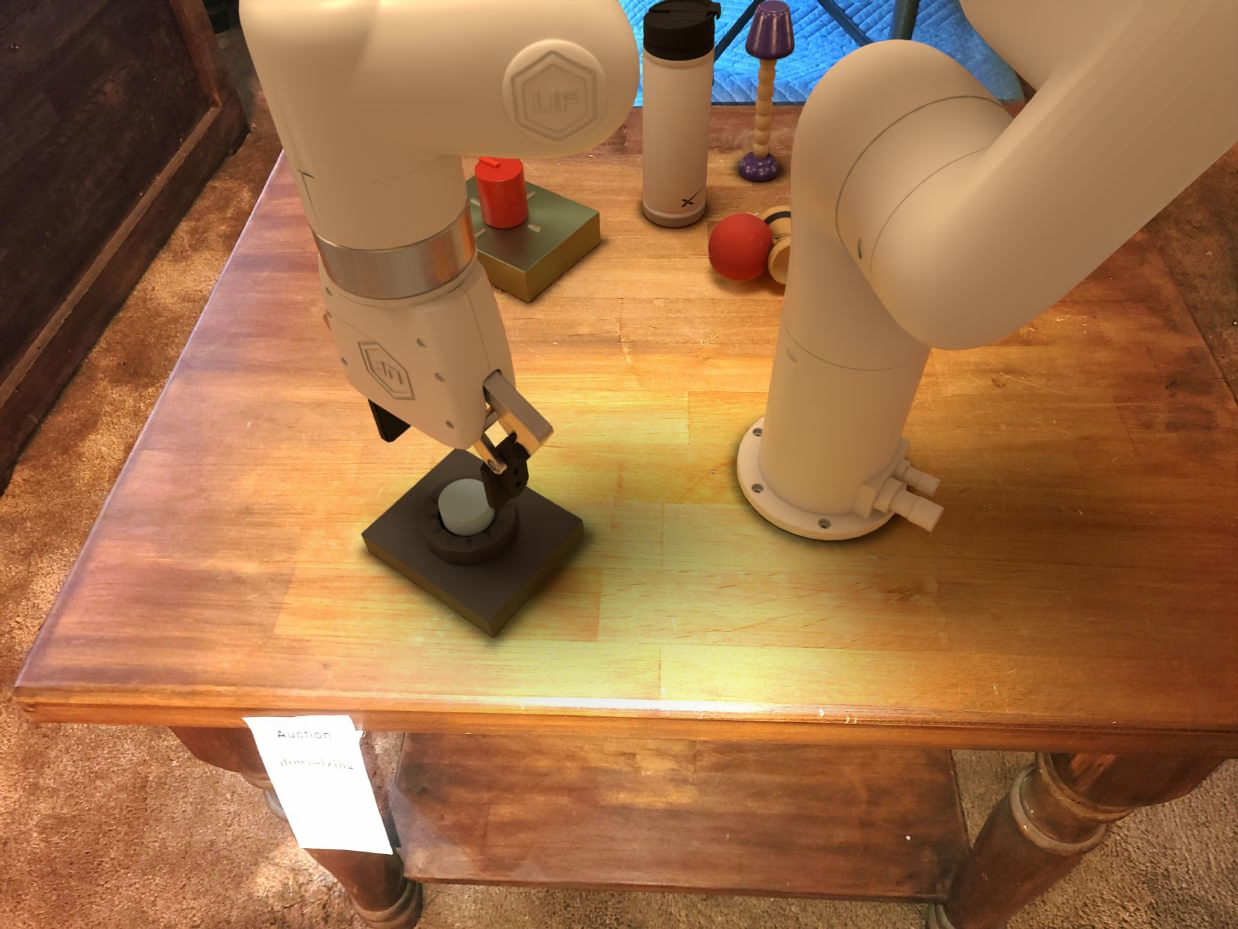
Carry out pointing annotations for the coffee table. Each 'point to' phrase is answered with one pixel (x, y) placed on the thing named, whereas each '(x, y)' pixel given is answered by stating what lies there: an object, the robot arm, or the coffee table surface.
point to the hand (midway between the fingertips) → (454, 460)
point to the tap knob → (501, 191)
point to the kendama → (752, 245)
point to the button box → (474, 546)
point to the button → (465, 507)
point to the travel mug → (677, 108)
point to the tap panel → (534, 241)
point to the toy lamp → (766, 81)
